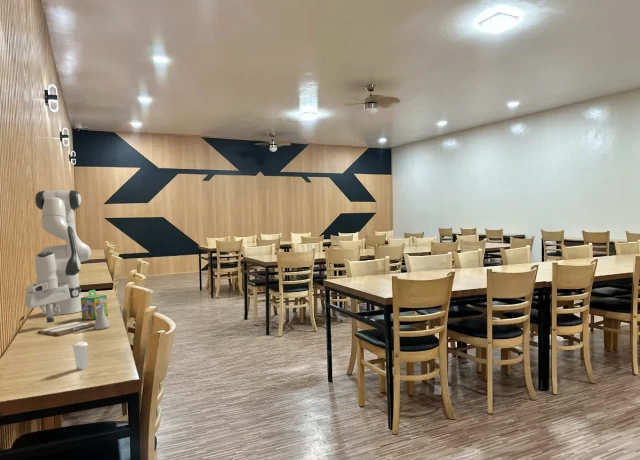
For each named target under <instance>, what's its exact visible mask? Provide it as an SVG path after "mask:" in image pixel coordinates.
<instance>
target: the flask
mask: <svg viewBox="0 0 640 460" xmlns="http://www.w3.org/2000/svg"><path fill="white" fill-rule="evenodd" d="M97 311H98V313H97V318H96V320H95V322H94V323H95V325H94V327H92V329H93V330H98V331H99V330H105V329H108V328H110V327H111V324H110V323H109V320H108V318H107V316H105V313H104V307H98V308H97Z"/></svg>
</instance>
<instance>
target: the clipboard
mask: <svg viewBox="0 0 640 460" xmlns="http://www.w3.org/2000/svg"><path fill="white" fill-rule="evenodd" d="M94 325H95V322H86V321H75V320H74V321H71V322H69V323H64V324H61V325H56V326H53V327H48V328H44V329H40V330H37V334H41V335H47V336H54V337H63V336H65V335H69V334H73V333H77V332H79V331H80V332H81V331H83V330H87V329H91V328H94Z"/></svg>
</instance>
